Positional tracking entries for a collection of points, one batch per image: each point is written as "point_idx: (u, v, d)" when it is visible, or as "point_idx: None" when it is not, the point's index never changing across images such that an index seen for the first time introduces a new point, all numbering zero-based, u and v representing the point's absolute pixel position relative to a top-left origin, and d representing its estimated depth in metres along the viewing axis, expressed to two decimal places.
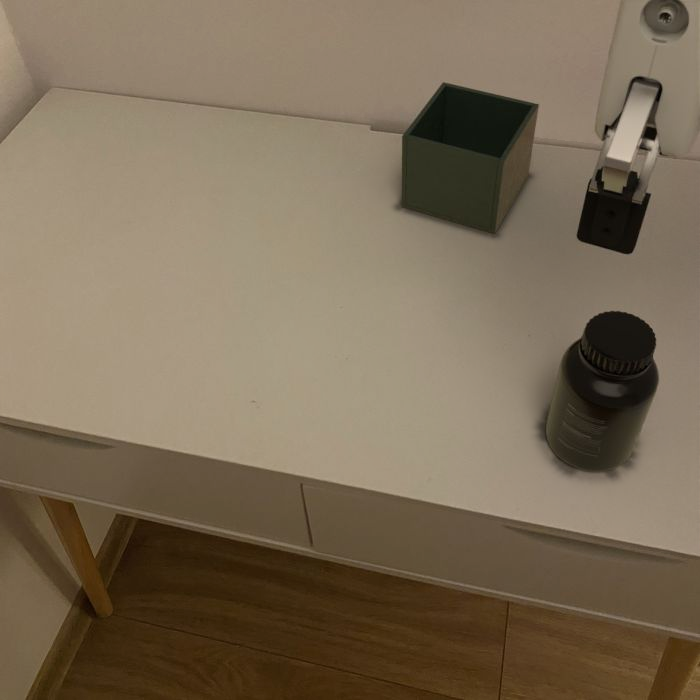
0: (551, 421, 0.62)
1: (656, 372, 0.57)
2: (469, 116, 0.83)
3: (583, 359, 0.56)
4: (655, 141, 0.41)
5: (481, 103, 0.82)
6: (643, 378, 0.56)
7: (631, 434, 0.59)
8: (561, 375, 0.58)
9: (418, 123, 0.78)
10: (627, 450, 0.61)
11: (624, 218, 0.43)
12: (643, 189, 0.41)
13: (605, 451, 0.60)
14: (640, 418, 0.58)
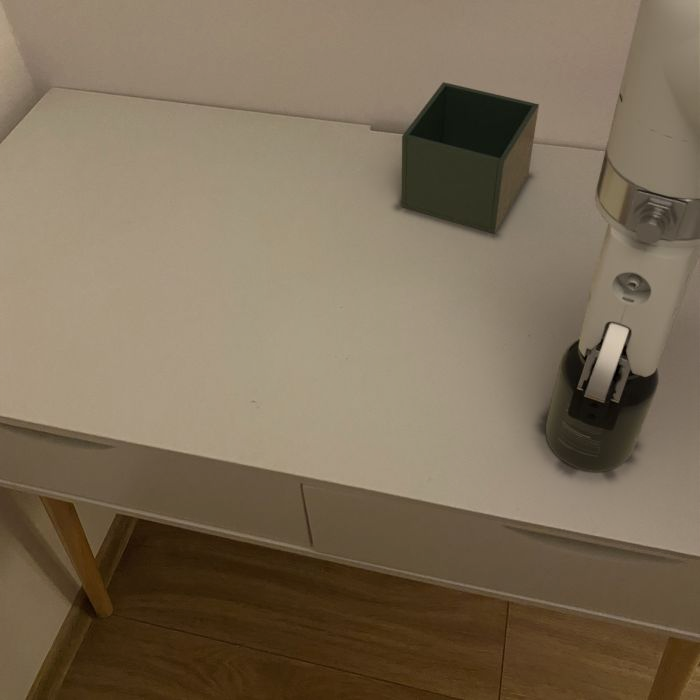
0: (551, 421, 0.62)
1: (656, 372, 0.57)
2: (469, 116, 0.83)
3: (582, 359, 0.56)
4: (627, 361, 0.51)
5: (481, 103, 0.82)
6: (643, 378, 0.56)
7: (631, 434, 0.59)
8: (561, 375, 0.58)
9: (418, 123, 0.78)
10: (627, 450, 0.61)
11: (605, 409, 0.54)
12: (619, 395, 0.52)
13: (605, 451, 0.60)
14: (640, 418, 0.58)
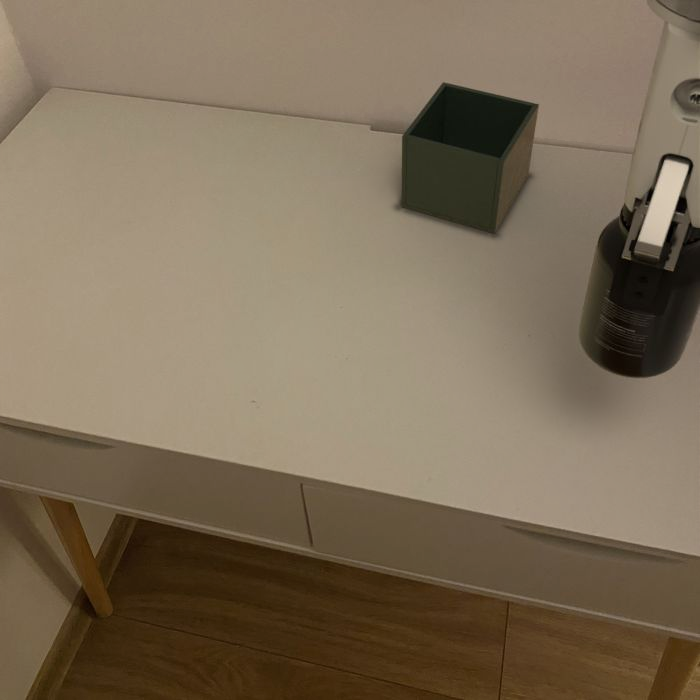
0: (586, 319, 0.53)
1: None
2: (469, 116, 0.83)
3: (625, 230, 0.47)
4: (685, 215, 0.42)
5: (481, 103, 0.82)
6: (698, 252, 0.47)
7: (683, 327, 0.50)
8: (598, 256, 0.49)
9: (418, 123, 0.78)
10: (678, 349, 0.51)
11: (656, 283, 0.45)
12: (674, 260, 0.43)
13: (652, 349, 0.50)
14: (694, 305, 0.49)
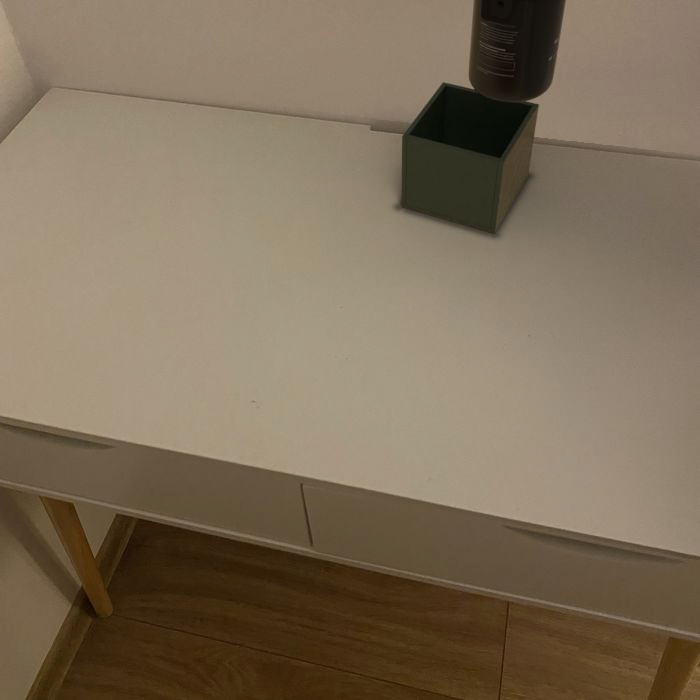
0: (471, 53, 0.64)
1: None
2: (469, 116, 0.83)
3: None
4: None
5: (481, 103, 0.82)
6: None
7: (544, 47, 0.61)
8: None
9: (418, 123, 0.78)
10: (543, 73, 0.63)
11: None
12: None
13: (520, 68, 0.62)
14: (551, 25, 0.60)
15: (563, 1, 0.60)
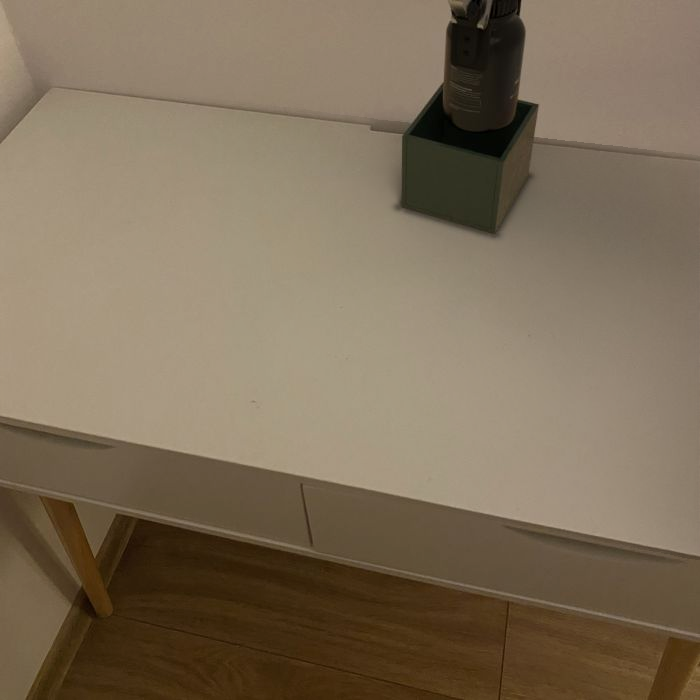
0: (444, 91, 0.74)
1: (522, 27, 0.69)
2: None
3: None
4: None
5: None
6: (509, 27, 0.68)
7: (505, 87, 0.71)
8: (446, 36, 0.70)
9: (418, 123, 0.78)
10: (505, 109, 0.73)
11: (475, 41, 0.66)
12: (483, 19, 0.64)
13: (485, 105, 0.72)
14: (511, 69, 0.70)
15: (521, 48, 0.70)
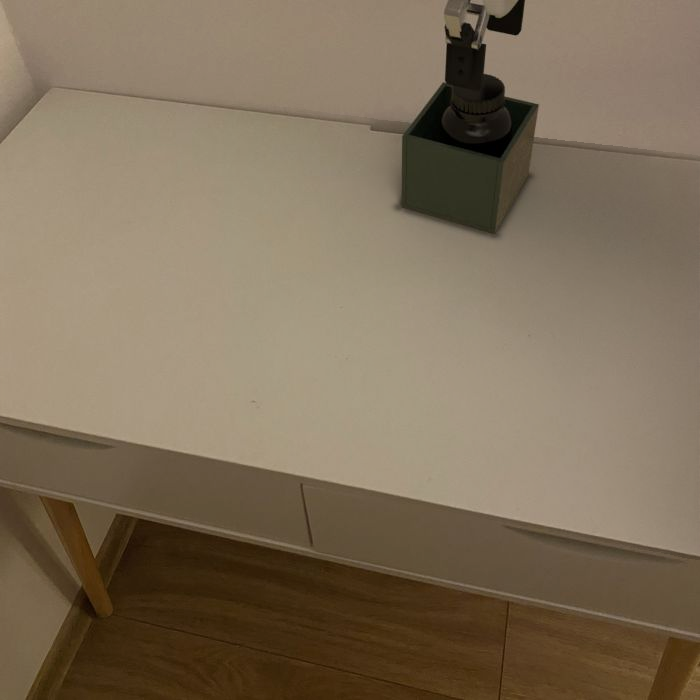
0: None
1: (509, 120, 0.76)
2: None
3: (451, 106, 0.75)
4: (484, 6, 0.64)
5: None
6: (497, 121, 0.75)
7: None
8: (440, 126, 0.78)
9: (418, 123, 0.78)
10: None
11: (469, 61, 0.66)
12: (477, 38, 0.65)
13: None
14: (498, 157, 0.77)
15: (508, 139, 0.77)
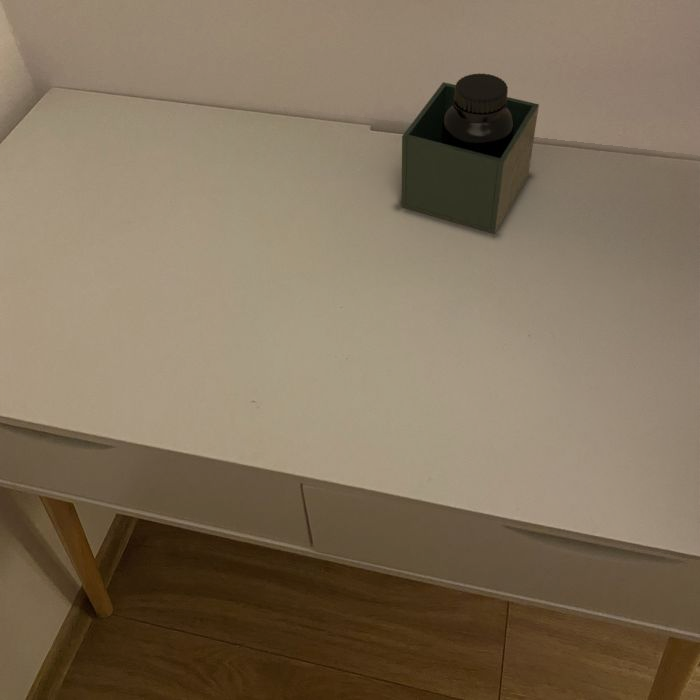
0: None
1: (511, 120, 0.76)
2: None
3: (454, 105, 0.75)
4: None
5: None
6: (499, 121, 0.75)
7: None
8: (442, 125, 0.78)
9: (418, 123, 0.78)
10: None
11: None
12: None
13: None
14: (499, 157, 0.77)
15: (509, 140, 0.77)
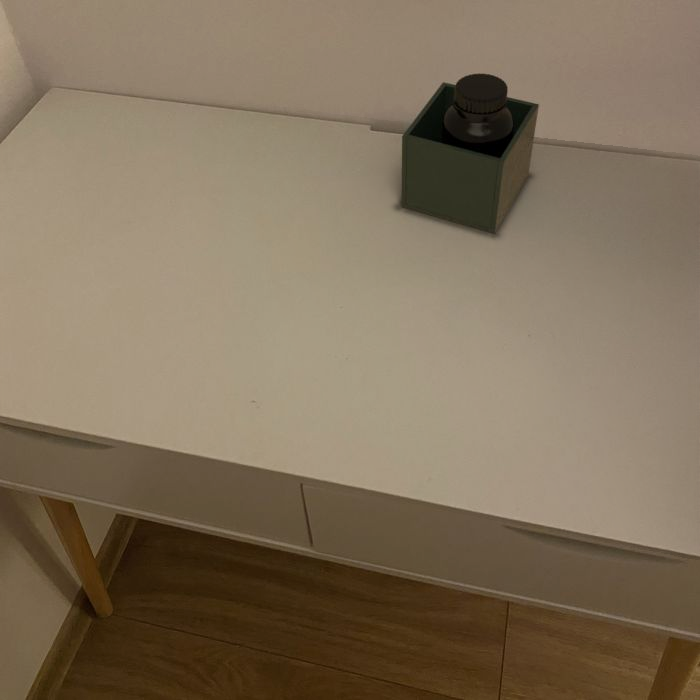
0: None
1: (511, 120, 0.76)
2: None
3: (454, 106, 0.75)
4: None
5: None
6: (499, 121, 0.75)
7: None
8: (442, 125, 0.78)
9: (418, 123, 0.78)
10: None
11: None
12: None
13: None
14: (499, 157, 0.77)
15: (509, 140, 0.77)
